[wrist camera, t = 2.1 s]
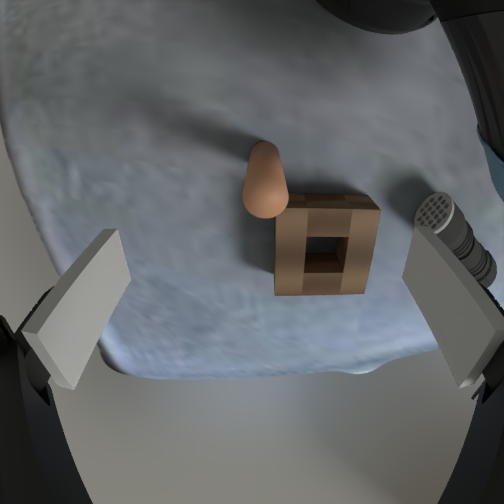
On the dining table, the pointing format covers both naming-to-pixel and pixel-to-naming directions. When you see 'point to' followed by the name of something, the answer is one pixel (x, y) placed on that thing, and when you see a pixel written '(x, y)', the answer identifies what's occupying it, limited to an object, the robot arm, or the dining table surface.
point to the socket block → (324, 225)
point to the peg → (265, 182)
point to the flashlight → (456, 236)
